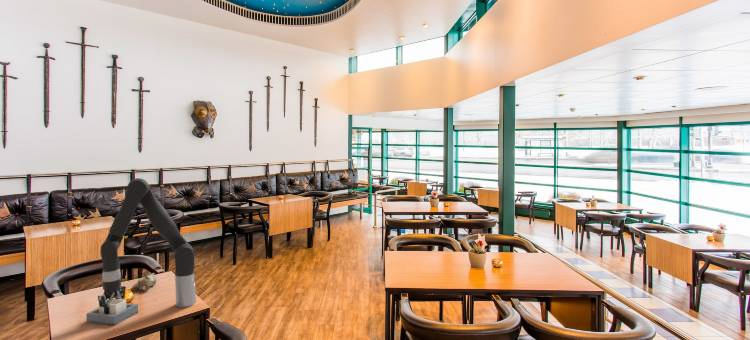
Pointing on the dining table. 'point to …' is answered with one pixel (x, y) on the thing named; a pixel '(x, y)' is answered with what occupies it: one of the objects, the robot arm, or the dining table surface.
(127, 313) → the tray
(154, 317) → the dining table surface
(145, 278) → the ceramic sculpture
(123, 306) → the cream crate
